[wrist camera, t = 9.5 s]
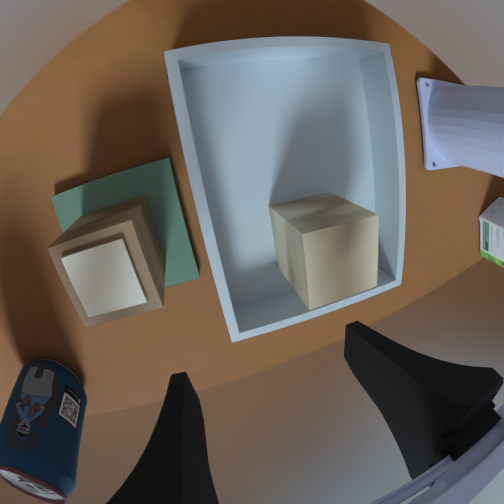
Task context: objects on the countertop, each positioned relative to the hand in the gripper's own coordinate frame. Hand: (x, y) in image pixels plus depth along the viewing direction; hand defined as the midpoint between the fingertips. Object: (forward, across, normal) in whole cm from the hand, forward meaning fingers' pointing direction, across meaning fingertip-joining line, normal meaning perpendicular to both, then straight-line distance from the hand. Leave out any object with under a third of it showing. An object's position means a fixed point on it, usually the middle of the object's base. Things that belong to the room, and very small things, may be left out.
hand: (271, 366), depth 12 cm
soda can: (+9, +19, +7) cm, 22 cm away
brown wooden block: (+9, +6, -4) cm, 12 cm away
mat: (+9, +6, -4) cm, 12 cm away
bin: (+9, -5, -6) cm, 12 cm away
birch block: (+9, -5, -2) cm, 10 cm away
